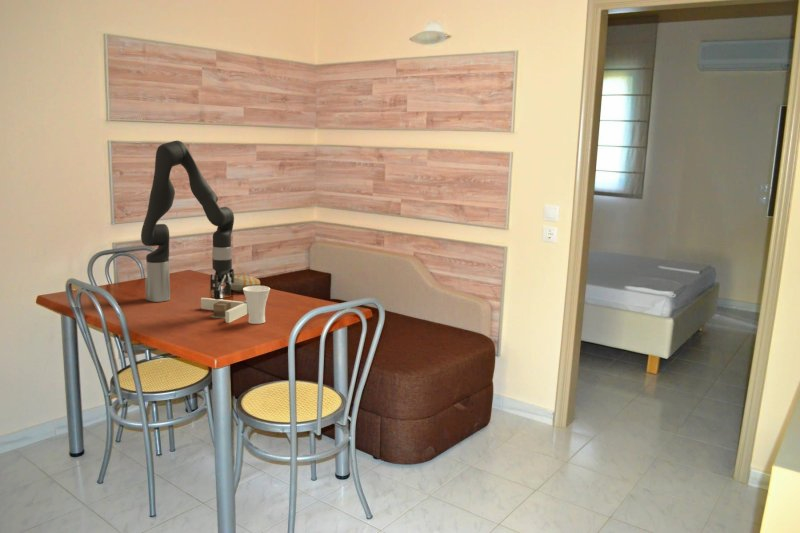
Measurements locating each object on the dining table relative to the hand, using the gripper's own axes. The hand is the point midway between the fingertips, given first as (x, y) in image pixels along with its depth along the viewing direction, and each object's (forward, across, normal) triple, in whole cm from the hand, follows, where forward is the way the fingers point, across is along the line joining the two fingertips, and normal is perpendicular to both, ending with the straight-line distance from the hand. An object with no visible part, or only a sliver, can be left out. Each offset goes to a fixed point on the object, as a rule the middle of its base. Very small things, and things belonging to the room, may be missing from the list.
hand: (222, 296), depth 267 cm
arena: (+8, -2, +3) cm, 8 cm away
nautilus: (+9, +43, +16) cm, 47 cm away
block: (+8, -1, 0) cm, 8 cm away
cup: (+8, -4, -17) cm, 19 cm away
